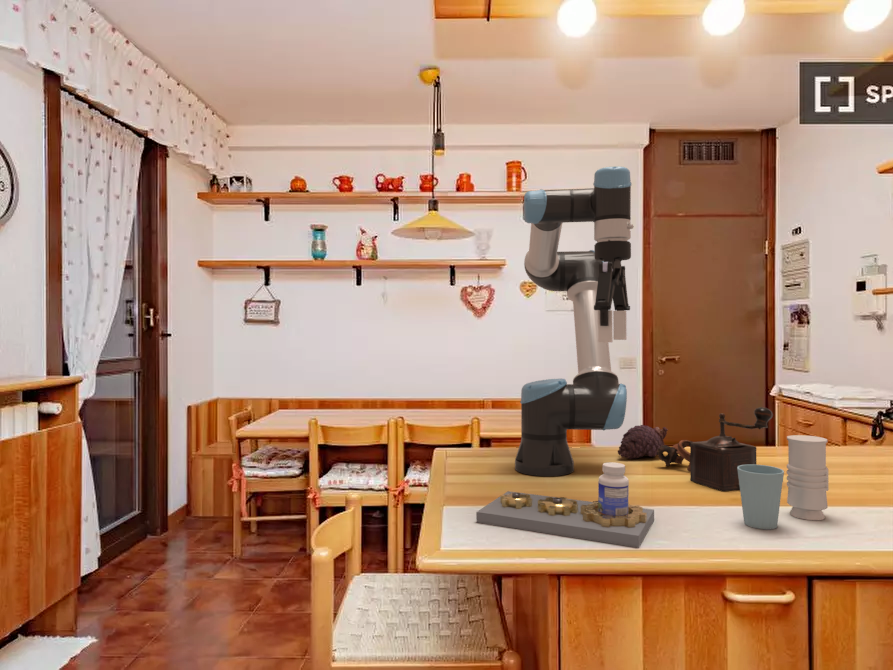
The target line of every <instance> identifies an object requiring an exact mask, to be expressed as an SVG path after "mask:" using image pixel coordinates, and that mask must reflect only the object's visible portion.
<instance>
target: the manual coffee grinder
mask: <svg viewBox="0 0 893 670" xmlns="http://www.w3.org/2000/svg"><path fill="white" fill-rule="evenodd" d="M753 414H754V416H755V419H756V421H755V422H754V423H753V424H754V425H750V424H744V423H739V422H738V423H737V422H731V421H726V419H725V418H726V415H725V413H722V412H720V413H719V414H718V416H719V419H718V423H719V429H720V431H719V432H720V433H719V435H716V436H713V437H711V438H709V439H707V440H703V441H701V440H700V441H692V442H691V444H690V446H689V447H690V452H689V453H690V462H689V463H690V472H689V473H690V475H689V476H690V478H689V479H690V482H693V483H695V484H699V485H701V486H704V487H708V488H710V489H713V490H716V491H719V492H729V491H731V492H732V491H738V490H739V491H740V485H739V478H738V470H737V467H738V466H740V465H748V464H755V465H757V450H758V449H757V446H754V445H751V444H746V443H742V442H739V441H738V440H737V439H736V437H732V435H730V436H728V435H726V432H725V425H727V426H730V427H737V428H738V427H739V428H743V429H749V430H755V429H758V430H762V429H763V428H765V429H768V428H769V427H768V426H769V425H768V422H769V421H770V420H771V419H772V418H773V416H774V413H773V411H772V410H771V409H769V408H767V407H764V406H760V407H757V408H755V409H754V410H753Z"/></svg>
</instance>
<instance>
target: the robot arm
mask: <svg viewBox="0 0 893 670" xmlns="http://www.w3.org/2000/svg"><path fill="white" fill-rule="evenodd" d="M593 175H594V177H593V179H594V181H593V183H592V184H593V188H591V187H590V188H588V187H587V188H569V189H565V188H564V189H542V188H541V189H537V190H529V191H526V192H525V193H524V196H523V197H524V198H523V200H524V201H523V217H524V218H523V219H524V222H525V223H527V224H530V236H529V245H528V247H529V248H528V251H527V252H526V254H525V256H524V263H523V265H524V270H525V273H526V275H527V276H528V278H529V279H530V280H531V282H533V283H534V284H535V285H536V286H538V287H540V288H541V289H544V290H546V291H550V292H566V296H567V298H568V299H569V300H570V301H571V302H572V304H573V305H572V306H573V307H572V308H573V320H574V333H575V344H576V347H575V348H576V360H577V361H576V362H577V372H578V373H577V375H575V376H574V377H573V380H572V383H571V384H568V382H567V381H566V379H565V378H548V379H542V380H536V381H531V382H527V383H526V384H524V385H522V387H521V394H520V404H521V406H520V408H521V410H520V411H521V413H520V414H521V415H520V416H521V417H520V418H521V419H520V421H521V423H520V426H521V429H520V430H521V439H520V443H519V447H518V450H517V452H516V456H515V458H514V459H515V460H514V470H515V471H516V472H518V473H521V474H525V475H529V476H534V477H535V476H536V477H558V476H565V475H568V474H572V473H573V472H574V471H575V463H574V459H573V455H572V453H571V450H570V446H569V444H568V438H567V430H572V431H573V430H574V431H575V430H590V431H591V430H592V431H595V430H596V431H607V430H618V429H620V428H621V427H622V426H623V423H624V421H625V417H626V411H627V410H626V409H627V401H628V400H627V398H628V394H627V393H628V391H627V386H626V384H624V383H619V377H618V375H617V374H616V373H614V372H613V371H612V364H611V355H610V346H609V343H613V341H618V340H619V341H620V340H622V341H623V340H624V341H626V340H627V311H630V310H631V306H630V304H629V300H628V299H629V298H628V291H627V288H628V287H627V280H626V279H627V278H626V266H625V265H622V261H627V260H628V261H629V260H630V259H631V258H632V243H631V242H630V241H629V240H630V239H631V238H632V237H631V230H632V229H634V224H632V223H631V219H632V218H631V216H632V215H631V212H632V211H631V208H632V207H631V198H632V193H631V191H632V189H631V187H632V182H631V171H630V170H629V169H628V168H627V167H625V166H619V165H618V166H606V167H601V168H599V169H597V170H595V172H594V174H593ZM587 222H588V223H589V222H592V223H593V224H594V227H593V231H594V232H593V233H594V234H593V235H594V236H593V240H594V241H595V242H596V243H595V244H594V250H593V249H590V250H585V251H584V250H583V251H582V250H581V251H580V250H579V251H577V250H576V251H558V249H559V245H560V244H559V243H560V238H561V232H562V228H563V223H587ZM612 303H613V307H614V308H613V309H612Z"/></svg>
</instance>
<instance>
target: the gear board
mask: <svg viewBox="0 0 893 670" xmlns="http://www.w3.org/2000/svg"><path fill="white" fill-rule="evenodd" d="M515 492H517V491H509V490H508V491H506V492H505V493H503V494H502V495H508V494H511V493H515ZM517 493H520V494H523V495H524V494H528V495H530V498H532V506H531V507H527V506H526V507H522V509H516V508H513V507H503V506H502V503H501V497H500V496H499V497H497V498H495V499H494V500H492V501H490V502H489V503H488V504H486V505H485V506H484V507H482V508H480V509H479V510H477V511H476V523H478V524H485V525H493V526H498V527H504V528H505V527H506V528H511V529H515V530H516V529H518V530H522V531H530V532H537V533H543V534H548V535H554V536H562V537H568V538H569V537H570V538H575V539H581V540H588V541H593V542H601V543H606V544H614V545H620V546H626V547H631V548H637V549H639V548H640V547H641V544H642V543H643V540H644V539H645V537H646V535H647V534H648V532H649V530H650V529H651V527H652V525H653V523H654V521H655V509H651V508H644V507H642V508H643V513H647V521H646V523H642V522H640V523H638V524H635V527H630V528H628V527H626V526H610V527H604V526H602V524H598V523H595V522H592V521H590V522H586V521H585V520H583V514H581V506H582V505H588V504H592V503H593V501H589V500H588V501H587V500H580V499H579V500H578V499H572V498H567V499H568V500H575V501H577V504H578V512H577V513H570V515H568V516H564V515H557V514H556V515H555V516H553V515H548V513H546V512H543V513H541V512H539V511H538V500H539V499H542V500H545V499H546V497H552V498H559V497H557V496H549V495H540V494H534V493H525V492H517Z"/></svg>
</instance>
